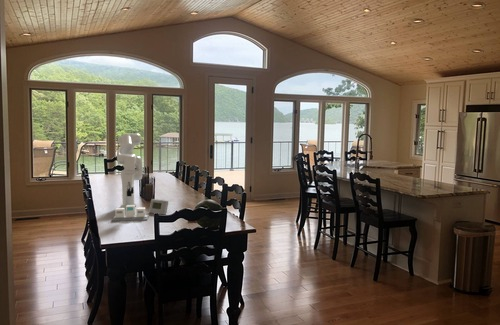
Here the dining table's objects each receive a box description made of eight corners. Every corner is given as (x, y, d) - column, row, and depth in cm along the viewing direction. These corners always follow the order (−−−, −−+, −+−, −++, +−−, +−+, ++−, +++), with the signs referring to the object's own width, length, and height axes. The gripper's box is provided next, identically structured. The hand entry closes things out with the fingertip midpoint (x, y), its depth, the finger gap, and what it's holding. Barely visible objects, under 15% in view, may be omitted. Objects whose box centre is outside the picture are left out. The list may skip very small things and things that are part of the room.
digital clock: (147, 212, 318) (147, 199, 317) (156, 210, 326) (156, 197, 324) (162, 216, 309) (161, 202, 308) (170, 213, 317) (170, 200, 315)
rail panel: (115, 216, 304) (114, 206, 304) (148, 216, 308) (148, 206, 307) (111, 221, 292) (111, 210, 291) (146, 220, 295) (146, 210, 294)
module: (127, 215, 302) (126, 205, 301) (135, 215, 303) (135, 204, 302) (126, 217, 297) (125, 206, 296) (134, 217, 298) (134, 206, 297)
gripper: (126, 170, 304) (126, 192, 306) (122, 173, 287) (123, 197, 289) (136, 170, 305) (137, 192, 307) (133, 173, 288) (133, 197, 290)
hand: (130, 194), depth 298 cm, fingers open, 9 cm apart
